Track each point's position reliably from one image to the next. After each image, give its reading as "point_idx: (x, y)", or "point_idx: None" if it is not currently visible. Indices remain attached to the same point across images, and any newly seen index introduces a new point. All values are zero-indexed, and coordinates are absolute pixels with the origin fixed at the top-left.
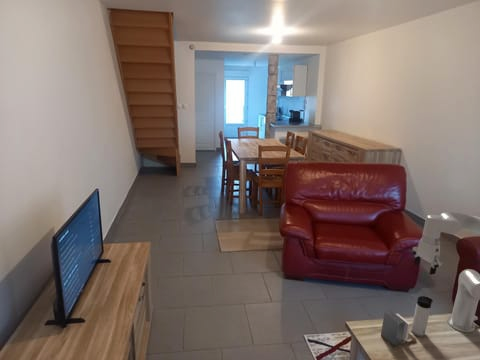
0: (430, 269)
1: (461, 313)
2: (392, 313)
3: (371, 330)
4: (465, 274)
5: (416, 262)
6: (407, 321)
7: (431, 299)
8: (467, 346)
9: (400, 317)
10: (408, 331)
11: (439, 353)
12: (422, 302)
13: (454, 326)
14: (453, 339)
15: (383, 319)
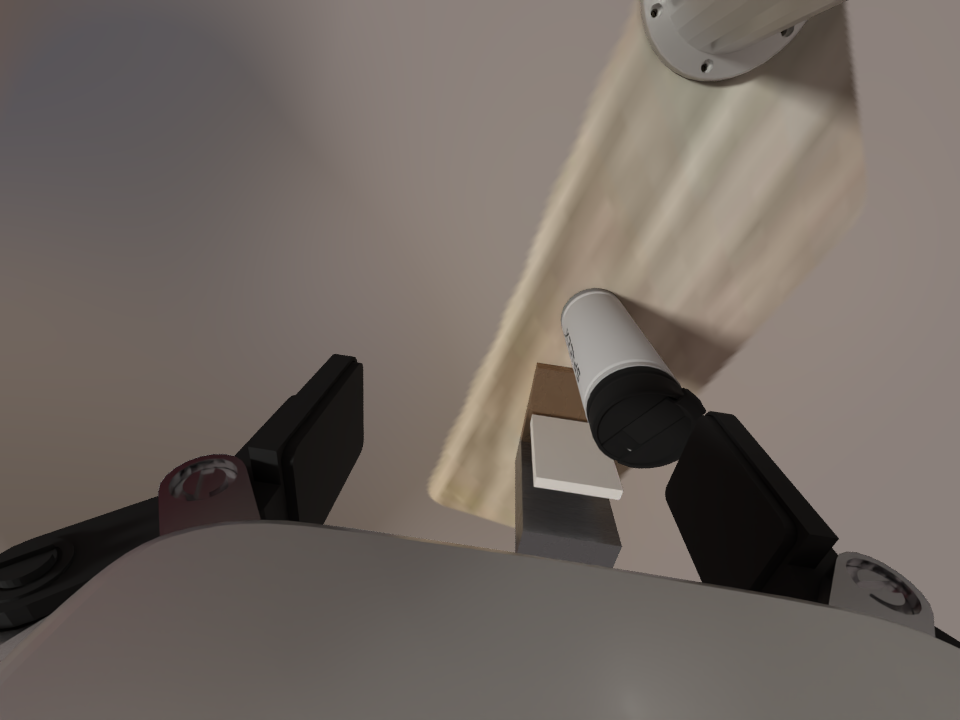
0: (701, 573)
1: (807, 17)
2: (543, 542)
3: (477, 464)
4: None
5: (345, 463)
6: (604, 487)
7: (690, 403)
8: (819, 175)
9: (564, 489)
10: (612, 460)
11: (722, 353)
12: (648, 466)
13: (716, 76)
14: (740, 193)
15: (515, 523)
